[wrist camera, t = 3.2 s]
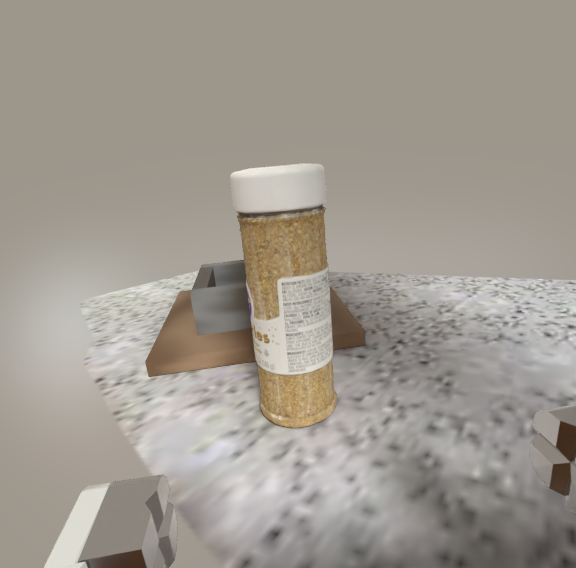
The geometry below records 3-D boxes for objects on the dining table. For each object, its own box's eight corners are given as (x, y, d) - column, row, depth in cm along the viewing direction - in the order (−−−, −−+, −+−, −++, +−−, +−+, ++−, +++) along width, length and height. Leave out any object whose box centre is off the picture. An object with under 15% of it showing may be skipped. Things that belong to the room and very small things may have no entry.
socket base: (320, 283, 43) (318, 244, 42) (365, 345, 28) (363, 286, 26) (181, 301, 42) (174, 261, 40) (148, 376, 26) (134, 316, 25)
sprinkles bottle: (252, 396, 23) (220, 171, 19) (318, 376, 24) (302, 163, 20) (275, 443, 19) (241, 168, 15) (353, 416, 20) (342, 159, 16)
